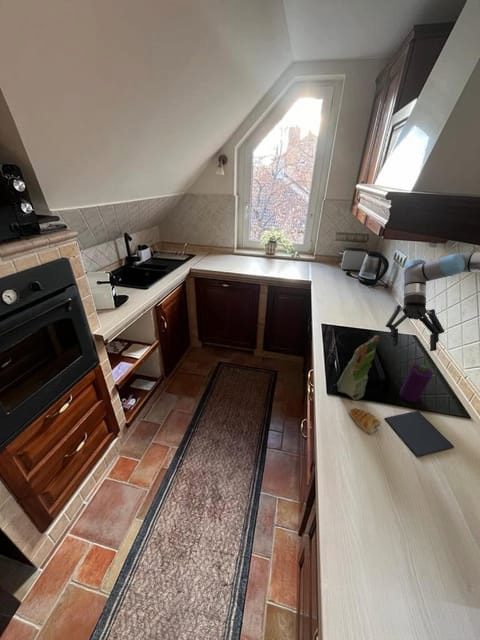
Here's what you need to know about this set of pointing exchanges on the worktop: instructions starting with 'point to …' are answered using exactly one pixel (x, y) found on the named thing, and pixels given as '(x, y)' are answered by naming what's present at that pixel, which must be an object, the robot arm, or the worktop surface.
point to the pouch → (358, 370)
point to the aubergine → (415, 383)
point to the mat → (418, 433)
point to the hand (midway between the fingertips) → (413, 347)
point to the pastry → (365, 420)
